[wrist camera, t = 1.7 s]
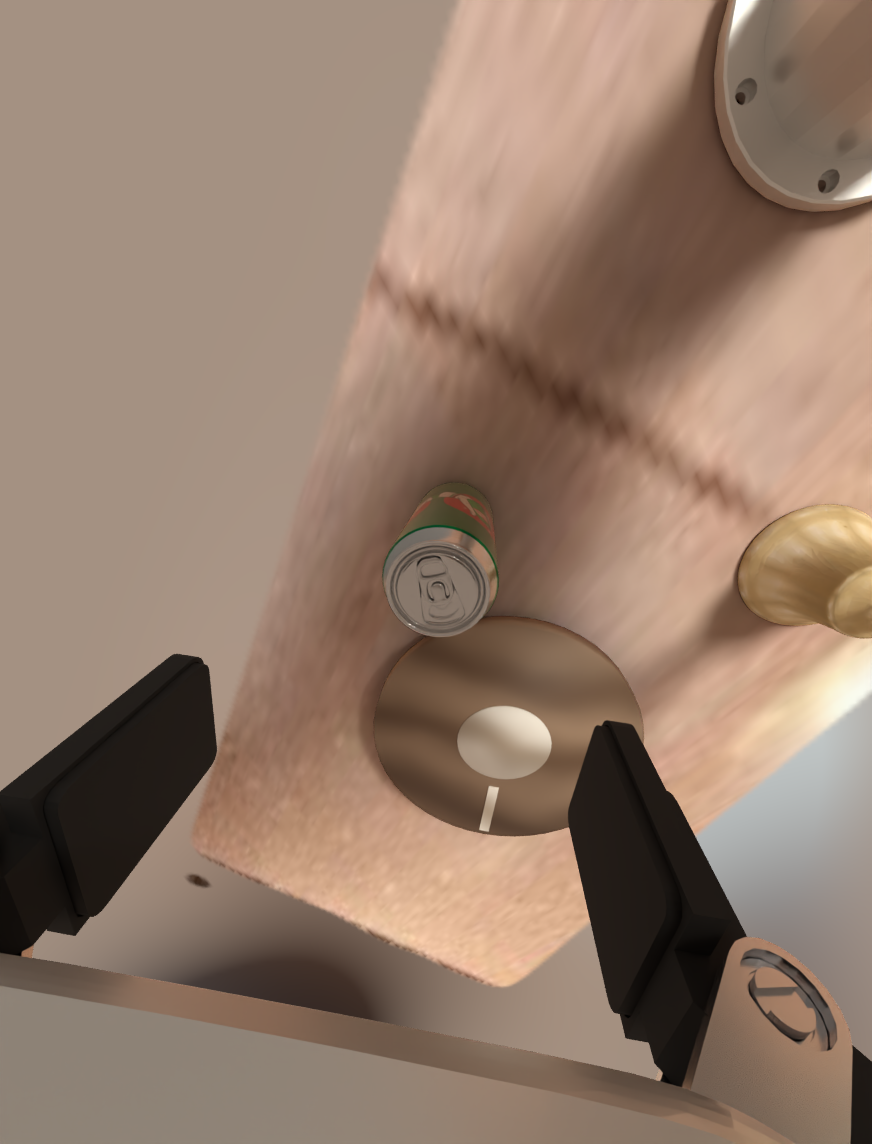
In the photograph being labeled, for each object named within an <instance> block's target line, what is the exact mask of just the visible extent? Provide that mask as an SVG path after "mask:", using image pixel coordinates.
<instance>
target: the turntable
mask: <svg viewBox="0 0 872 1144" xmlns="http://www.w3.org/2000/svg"><path fill="white" fill-rule="evenodd" d="M606 720H609V721H616V722H622V723H629V724H632V725H633V726H634V728H635V729H636V731H637V733H638V735H639V737H640V739H641V741H642V743H643V742H644V728H643V720H642V716H641V711H640V708H639V706H638V703H637V701H636V699H635V696H634V694H633V692H632V690H631V688H630V686H629V685H628V683H627V681H626V679H625V678H624V676H623V675H622V673H621V671H620V670H619V668H618V667H617V666H616V665H615V664H614V662H613V661H612V660H611V659H610V658H609V657H608V656H607V655H606V654H605V653H604V652H603V651H601V650H600V649H599V648H598V647H597V646H596V645H594V644H593V643H591V642H590V641H588V640H587V639H585V638H584V637H582V636H580V635H578V634H576V633H574V632H572V631H570V630H568V629H566V628H564V627H561V626H558V625H555V624H552V623H549V622H546V621H541V620H536V619H531V618H525V617H514V616H492V617H483V618H481V619H480V620H479V621H478V622H477V623H476V624H475V625H474V626H473V627H471V628H470V629H468V630H467V631H465V632H463V633H460V634H458V635H454V636H450V637H431V636H427V637H425V638H423V639H422V640H421V641H419V642H418V643H417V644H415V645H414V646H413V647H411V648H410V649H409V650H408V651H407V652H406V653H405V654H404V655H403V656H402V657H401V658H400V659H399V661H398V662H397V663H396V665H395V666H394V667H393V669H392V670H391V672H390V674H389V676H388V677H387V679H386V681H385V683H384V686H383V689H382V692H381V695H380V698H379V701H378V704H377V707H376V711H375V717H374V739H375V745H376V750H377V752H378V755H379V758H380V761H381V763H382V765H383V767H384V769H385V771H386V773H387V774H388V776H389V777H390V779H391V780H392V782H393V783H394V784H395V786H396V787H397V788H398V789H399V790H400V791H401V792H402V793H403V794H404V795H405V796H406V797H407V798H408V799H409V800H410V801H411V802H413V803H414V804H415V805H416V806H418V807H419V808H421V809H422V810H424V811H425V812H427V813H428V814H430V815H432V816H434V817H436V818H437V819H439V820H441V821H444V822H446V823H448V824H451V825H453V826H456V827H459V828H462V829H465V830H469V831H473V832H478V833H482V834H489V835H497V836H530V835H537V834H544V833H549V832H553V831H557V830H561V829H564V828H567V827H569V823H568V809H569V805H570V802H571V798H572V795H573V792H574V789H575V786H576V783H577V780H578V777H579V774H580V771H581V767H582V764H583V761H584V758H585V755H586V752H587V749H588V746H589V743H590V740H591V736H592V733H593V730H594V728H595V726H596V725H600V726H602V724H603V722H604V721H606Z"/></svg>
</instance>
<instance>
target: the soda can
mask: <svg viewBox="0 0 872 1144" xmlns="http://www.w3.org/2000/svg"><path fill="white" fill-rule="evenodd" d="M382 579H383V587H384V591H385V594H386V596H387V599H388V602H389V605H390V607H391V609H392V611H393V612H394V614H395V615H396V617H397V618H398V619H399V620H400V621H401V622H402V623H403V624H404V625H405V626H407V627H408V628H410V629H411V630H413V631H415V632H417V633H420V634H423V635H426V636H431V637H450V636H454V635H458V634H460V633H463V632H465V631H467V630H468V629H470V628H471V627H473V626H474V625H475V624H476V623H477V622H478V621H479V620H480V619H481V618H483V617H484V616H485V615H486V613H487V612H488V611H489V610H490V608H491V607H492V605H493V603H494V601H495V598H496V596H497V592H498V587H499V574H498V565H497V555H496V545H495V535H494V525H493V516H492V510H491V507H490V505H489V503H488V501H487V500H486V498H485V497H484V496H483V495H482V494H481V493H480V492H479V491H478V490H477V489H475V488H473V487H471V486H470V485H467V484H463V483H453V482H451V483H445V484H442V485H439V486H437V487H435V488H433V489H432V490H431V491H429V492H428V493H427V494H426V495H425V496H424V498H423V499H422V501H421V502H420V504H419V505H418V507H417V509H416V510H415V512H414V513H413V515H412V516H411V518H410V519H409V521H408V523H407V524H406V526H405V527H404V529H403V530H402V532H401V534H400V535H399V537H398V538H397V540H396V541H395V543H394V545H393V546H392V548H391V549H390V551H389V553H388V555H387V557H386V559H385V563H384V566H383V574H382Z"/></svg>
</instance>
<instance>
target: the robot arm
mask: <svg viewBox="0 0 872 1144" xmlns="http://www.w3.org/2000/svg"><path fill="white" fill-rule="evenodd" d="M714 90H715V110H716V115H717V120H718V124H719V129H720V134H721V138H722V140H723V143H724V145H725V147H726V150H727V152H728V154H729V157H730V159H731V161H732V163H733V165H734V166H735V167H736V169H737V170H738V171H739V173H740V174H741V175H742V177H743V178H744V179H745V181H746V182H747V183H748V184H749V185H750V186H751V187H753V188H754V189H755V190H756V191H758V192H759V193H760V194H761V195H763V196H764V197H765V198H766V199H769V200H771V201H773V202H776V203H778V204H780V205H783V206H785V207H787V208H792V209H798V210H804V211H811V212H818V211H832V210H842V209H845V208H849V207H852V206H856V205H860V204H863V203H867V202H870V201H872V0H728V3H727V7H726V11H725V14H724V18H723V22H722V26H721V30H720V33H719V37H718V45H717V54H716V62H715V70H714ZM736 99H737V100H739V102H740V104H738V103H737V101H736ZM818 187H819V189H818ZM216 753H217V745H216V735H215V725H214V714H213V704H212V695H211V684H210V674H209V668H208V666H207V665H205V664H204V663H203V660H202V659H201V658H199V657H194V656H188V655H181V654H174V655H172V656H170V657H169V658H168V659H166V660H165V661H164V662H163V663H161V664H160V665H159V666H157V667H156V668H155V669H154V670H152V671H151V672H150V673H149V674H147V675H146V676H145V677H144V678H142V679H141V680H140V681H139V682H137V683H136V684H135V685H134V686H132V687H131V688H130V689H128V690H127V691H126V692H125V693H123V694H122V695H121V696H120V697H119V698H117V699H116V700H115V701H114V702H112V703H111V704H110V705H108V706H107V707H106V708H105V709H104V710H102V711H101V712H100V713H98V714H97V715H96V716H94V717H93V718H92V719H91V720H89V721H88V722H87V723H86V724H84V725H83V726H82V727H81V728H79V729H78V730H77V731H76V732H74V733H73V734H72V735H71V736H69V737H68V738H67V739H66V740H64V741H63V742H62V743H60V744H59V745H58V746H57V747H56V748H54V749H53V750H52V751H50V752H49V753H48V754H47V755H45V756H44V757H43V758H42V759H40V760H39V761H38V762H37V763H35V764H34V765H33V766H32V767H30V768H29V769H28V770H27V771H25V772H24V773H23V774H21V775H20V776H19V777H18V778H17V779H15V780H14V781H13V782H11V783H10V784H9V785H8V786H6V787H5V788H4V789H3V790H1V791H0V1144H872V1062H871V1061H870V1060H869V1059H868V1058H867V1057H866V1056H864V1055H863V1054H862V1053H861V1052H860V1051H859V1050H857V1049H856V1048H855V1047H854V1046H853V1045H852V1042H851V1036H850V1030H849V1028H848V1026H847V1023H846V1021H845V1019H844V1017H843V1014H842V1012H841V1010H840V1008H839V1007H838V1005H837V1004H836V1002H835V1001H834V999H833V998H832V996H831V995H830V993H829V992H828V990H827V989H826V988H825V987H824V986H823V984H822V983H821V982H820V981H819V980H818V979H817V978H816V977H815V975H814V974H813V973H812V972H811V971H810V970H809V969H808V968H807V967H805V966H804V965H803V964H802V963H801V962H800V961H798V960H797V959H796V958H795V957H794V956H793V955H791V954H790V953H788V952H786V951H785V950H783V949H782V948H780V947H778V946H777V945H775V944H772V943H770V942H767V941H765V940H763V939H760V938H752V937H747V936H746V934H745V932H744V930H743V928H742V926H741V924H740V922H739V920H738V918H737V916H736V914H735V913H734V911H733V909H732V907H731V905H730V903H729V901H728V899H727V897H726V895H725V893H724V891H723V889H722V887H721V886H720V884H719V882H718V880H717V878H716V876H715V874H714V872H713V870H712V868H711V866H710V864H709V862H708V860H707V858H706V856H705V855H704V853H703V851H702V849H701V847H700V845H699V843H698V841H697V839H696V837H695V835H694V833H693V831H692V829H691V827H690V826H689V824H688V822H687V820H686V818H685V816H684V814H683V812H682V810H681V808H680V806H679V804H678V802H677V801H676V799H675V798H674V796H673V795H672V794H671V793H670V792H668V791H666V789H665V787H664V785H663V783H662V781H661V779H660V777H659V775H658V773H657V771H656V769H655V767H654V765H653V763H652V761H651V759H650V757H649V755H648V753H647V751H646V749H645V747H644V745H643V743H642V741H641V739H640V737H639V735H638V733H637V731H636V729H635V728H634V726H633V725H632V724H629V723H622V722H616V721H609V720H606V721H604V722H603V724H602V726H600V725H596V726H595V728H594V730H593V733H592V736H591V740H590V743H589V746H588V749H587V752H586V755H585V758H584V761H583V764H582V767H581V771H580V774H579V777H578V780H577V783H576V786H575V789H574V792H573V795H572V798H571V802H570V805H569V809H568V823H569V828H570V833H571V837H572V842H573V846H574V851H575V855H576V860H577V864H578V868H579V873H580V877H581V882H582V886H583V891H584V895H585V900H586V904H587V908H588V913H589V917H590V922H591V926H592V931H593V935H594V940H595V944H596V948H597V953H598V957H599V962H600V966H601V971H602V975H603V979H604V984H605V988H606V993H607V997H608V1001H609V1004H610V1007H611V1009H612V1011H613V1012H614V1013H618V1014H620V1016H621V1020H622V1025H623V1029H624V1033H625V1038H627V1039H632V1040H638V1041H643V1042H648V1043H649V1045H650V1048H651V1052H652V1055H653V1059H654V1063H655V1064H656V1065H657V1067H658V1068H659V1071H658V1074H657V1077H656V1080H653V1079H650V1078H646V1077H643V1076H639V1075H636V1074H632V1073H628V1072H622V1071H618V1070H613V1069H609V1068H604V1067H600V1066H595V1065H591V1064H586V1063H582V1062H577V1061H573V1060H568V1059H564V1058H559V1057H554V1056H549V1055H545V1054H540V1053H536V1052H531V1051H526V1050H521V1049H515V1048H511V1047H506V1046H501V1045H496V1044H490V1043H485V1042H480V1041H475V1040H470V1039H465V1038H460V1037H454V1036H449V1035H444V1034H439V1033H434V1032H429V1031H424V1030H419V1029H414V1028H409V1027H403V1026H398V1025H393V1024H387V1023H383V1022H378V1021H372V1020H367V1019H362V1018H357V1017H351V1016H346V1015H341V1014H336V1013H330V1012H325V1011H320V1010H315V1009H309V1008H304V1007H298V1006H293V1005H288V1004H282V1003H277V1002H272V1001H267V1000H261V999H256V998H251V997H246V996H240V995H235V994H229V993H224V992H219V991H214V990H208V989H202V988H197V987H192V986H186V985H180V984H175V983H170V982H165V981H159V980H154V979H148V978H142V977H137V976H131V975H126V974H120V973H114V972H110V971H104V970H99V969H93V968H88V967H81V966H77V965H71V964H65V963H60V962H53V961H47V960H40V959H35V958H32V953H33V946H34V943H35V942H36V941H37V940H38V939H39V937H40V936H41V935H42V934H43V933H44V931H45V930H46V929H47V931H51V932H57V933H62V934H67V935H73V936H76V934H77V933H78V932H79V930H80V929H81V928H82V926H83V925H84V924H85V923H86V921H87V920H88V919H89V917H94V916H96V915H97V914H99V913H100V912H101V911H102V910H103V909H104V907H105V906H106V905H107V904H108V902H109V901H110V900H111V898H112V897H113V896H114V894H115V893H116V892H117V890H118V889H119V888H120V886H121V885H122V884H123V882H124V881H125V880H126V878H127V877H128V876H129V874H130V873H131V872H132V870H133V869H134V868H135V866H136V865H137V864H138V862H139V861H140V860H141V858H142V857H143V856H144V854H145V853H146V852H147V850H148V849H149V848H150V846H151V845H152V844H153V842H154V841H155V840H156V839H157V837H158V836H159V834H160V833H161V832H162V831H163V829H164V828H165V827H166V825H167V824H168V823H169V821H170V820H171V819H172V817H173V816H174V815H175V813H176V812H177V811H178V809H179V808H180V807H181V805H182V804H183V803H184V801H185V800H186V799H187V797H188V796H189V795H190V793H191V792H192V791H193V789H194V788H195V786H196V785H197V784H198V783H199V781H200V780H201V779H202V777H203V776H204V775H205V773H206V772H207V771H208V769H209V768H210V767H211V765H212V764H213V762H214V760H215V757H216Z"/></svg>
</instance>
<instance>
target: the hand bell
mask: <svg viewBox="0 0 872 1144" xmlns="http://www.w3.org/2000/svg"><path fill="white" fill-rule="evenodd" d="M737 582H738V587H739V592H740V595H741V597H742V599H743V601H744V603H745V604H746V605H747V607H748V608H749V609H750V610H751V611H752V612H753V613H755V614H756V615H757V616H759V617H761V618H763V619H765V620H767V621H770V622H773V623H778V624H782V625H792V626H801V625H812V624H817V623H819V624H822V625H825V626H827V627H829V628H832V629H834V630H836V631H838V632H840V633H842V634H844V635H847V636H850V637H856V638H872V518H871V517H869V516H868V515H867V514H865V513H863V512H862V511H860V510H857V509H855V508H852V507H848V506H843V505H834V504H825V505H816V506H811V507H806V508H803V509H799V510H797V511H794V512H792V513H790V514H787V515H785V516H783V517H782V518H780V519H778V520H776V521H775V522H773V523H772V524H770V525H769V526H768V527H767V528H765V529H764V530H763V531H762V532H761V533H760V534H759V535H758V536H757V537H756V538H755V539H754V540H753V542H752V543H751V544H750V546H749V547H748V549H747V550H746V552H745V554H744V556H743V559H742V561H741V563H740V567H739V571H738V579H737Z"/></svg>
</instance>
